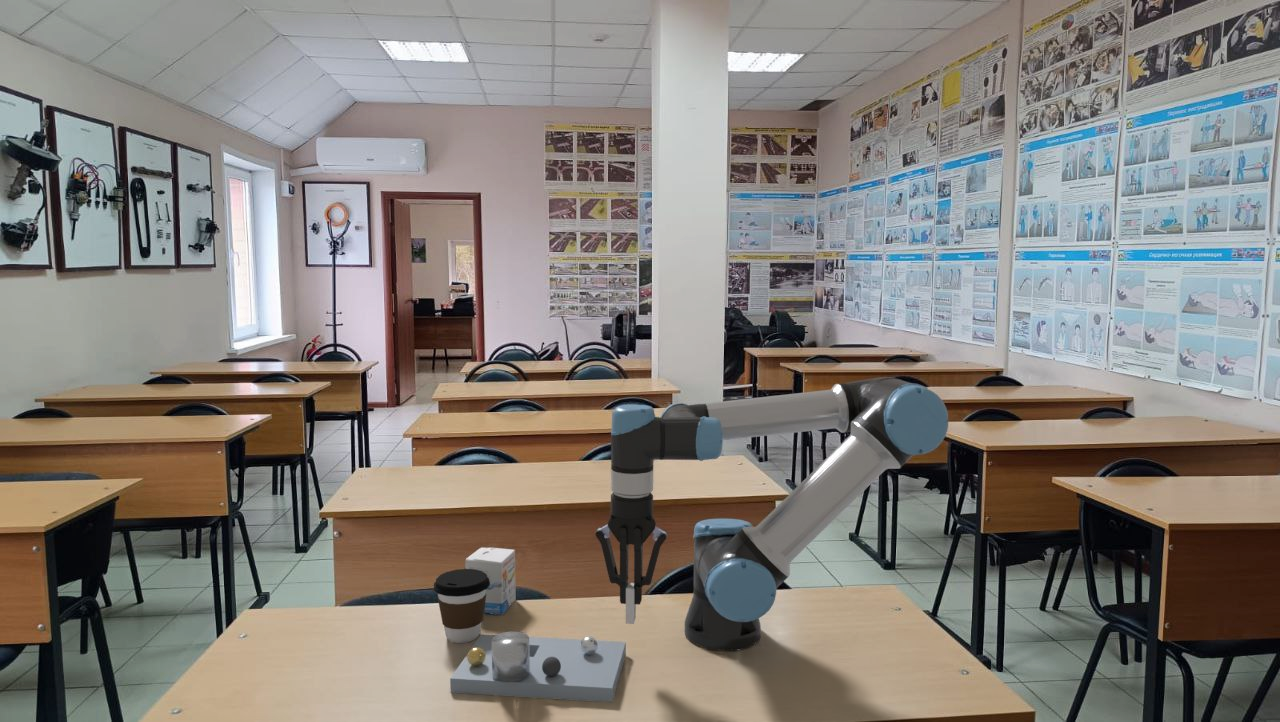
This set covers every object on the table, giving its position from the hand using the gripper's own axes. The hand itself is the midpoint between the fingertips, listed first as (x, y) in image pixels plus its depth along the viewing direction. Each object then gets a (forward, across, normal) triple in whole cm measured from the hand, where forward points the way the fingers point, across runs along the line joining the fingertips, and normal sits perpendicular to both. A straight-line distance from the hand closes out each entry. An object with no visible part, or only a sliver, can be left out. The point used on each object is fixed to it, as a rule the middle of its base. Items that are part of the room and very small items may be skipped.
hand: (630, 620), depth 141 cm
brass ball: (+6, +27, +6) cm, 28 cm away
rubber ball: (+5, +13, +8) cm, 16 cm away
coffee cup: (+10, +35, -10) cm, 37 cm away
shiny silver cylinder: (+7, +20, +9) cm, 23 cm away
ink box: (+10, +34, -25) cm, 43 cm away
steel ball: (+5, +8, 0) cm, 9 cm away
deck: (+9, +16, +3) cm, 18 cm away
